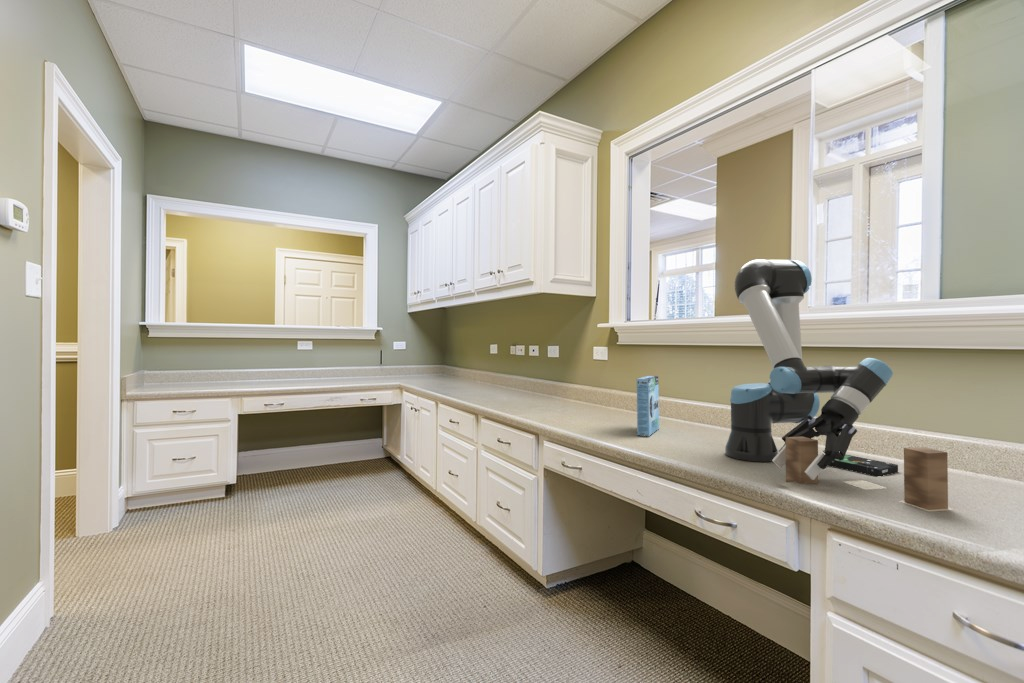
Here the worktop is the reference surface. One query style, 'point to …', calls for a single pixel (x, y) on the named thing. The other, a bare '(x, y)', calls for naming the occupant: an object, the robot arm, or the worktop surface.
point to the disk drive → (865, 465)
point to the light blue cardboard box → (647, 405)
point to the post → (800, 458)
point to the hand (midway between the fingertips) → (791, 469)
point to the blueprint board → (869, 485)
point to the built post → (926, 478)
